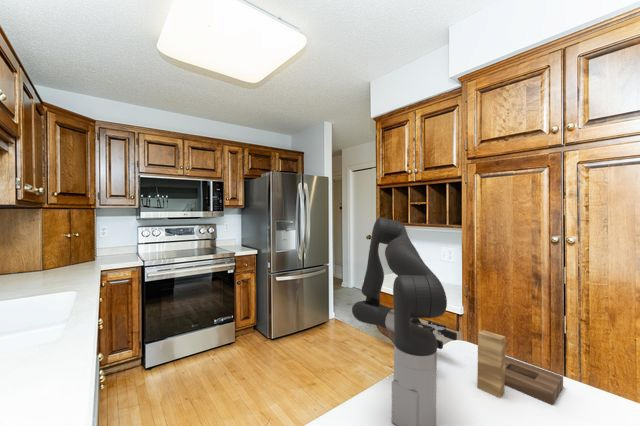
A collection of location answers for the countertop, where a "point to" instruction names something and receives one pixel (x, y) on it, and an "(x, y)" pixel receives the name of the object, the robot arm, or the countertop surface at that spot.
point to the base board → (532, 380)
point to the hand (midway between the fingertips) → (449, 341)
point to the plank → (491, 363)
